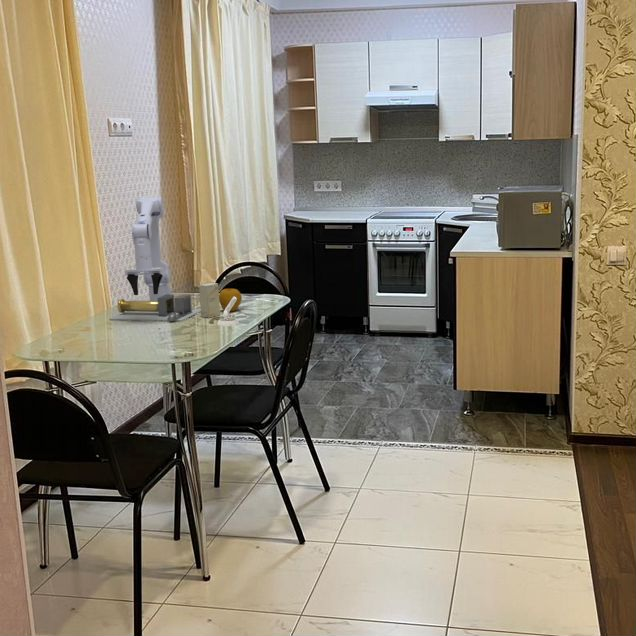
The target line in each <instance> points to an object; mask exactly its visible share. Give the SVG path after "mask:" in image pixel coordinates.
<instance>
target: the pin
mask: <svg viewBox="0 0 636 636" xmlns="http://www.w3.org/2000/svg"><path fill="white" fill-rule="evenodd" d="M166 305H167V311H168V310H169V303H168V302H167V301H166ZM117 311H118V312H119V313H120V314H122V313H124V312H127V311H139V312H159V311H158V301H150V300H125V299H123V298H122V299H121V298H120V299H119V300H118V302H117Z"/></svg>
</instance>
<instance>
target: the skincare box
mask: <svg viewBox="0 0 636 636" xmlns="http://www.w3.org/2000/svg"><path fill="white" fill-rule="evenodd" d="M198 291H199V292H198V293H199V302H200V310H201V313H200V317H201V318H205V317H208V318H207V319H210V317H211V318H215V317H219V316H221V304H220V301H219V294H220V291H219V283H217V282H215V283H214V282H207V283H204V284H203V283H202V284H199V285H198ZM218 315H219V316H218ZM214 316H215V317H214Z"/></svg>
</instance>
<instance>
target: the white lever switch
mask: <svg viewBox="0 0 636 636" xmlns="http://www.w3.org/2000/svg"><path fill="white" fill-rule="evenodd" d="M236 300H237V298H236V297H235V296H234V297H233V298H232V299H231V301H230V303H229V304H228V306H227V307H226V309H225V310H224V309H223V314H222V313H221V314H222V318H220V319H218V321H217V324H218V325H217V326H219V325H221V326H220V327H232V326H237V325H238V324H240V322H239V320H238V318H236V317H231V314H230V312H229V311H230V310H231V308H232V307H233V305H234V303H235V302H236Z"/></svg>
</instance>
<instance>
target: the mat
mask: <svg viewBox="0 0 636 636" xmlns="http://www.w3.org/2000/svg"><path fill="white" fill-rule="evenodd" d="M199 312H201V309H192V313H190V314H188V315H186V316H184V317H182V318H180V319H177V320H175V321H174V322H180V321H182V322H184V321H186V320H188V319H190V318H192V317H194V316H196V315H198V314H197V313H199ZM175 313H176V312H175ZM195 314H196V315H195ZM199 314H200V313H199ZM171 315H174V313H173V314H171ZM193 315H194V316H193ZM191 316H192V317H191ZM189 317H190V318H189ZM167 318H169V316H166V317H162V316H159V312H139V311H125V312H124V313H120V314H117V315H115V316H112V317H110V318H109V319H108V321H127V320H141V322H169V321H168V320H167ZM187 318H188V319H187ZM185 319H186V320H185ZM155 320H156V321H155ZM161 320H162V321H161ZM183 320H184V321H183Z"/></svg>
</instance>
